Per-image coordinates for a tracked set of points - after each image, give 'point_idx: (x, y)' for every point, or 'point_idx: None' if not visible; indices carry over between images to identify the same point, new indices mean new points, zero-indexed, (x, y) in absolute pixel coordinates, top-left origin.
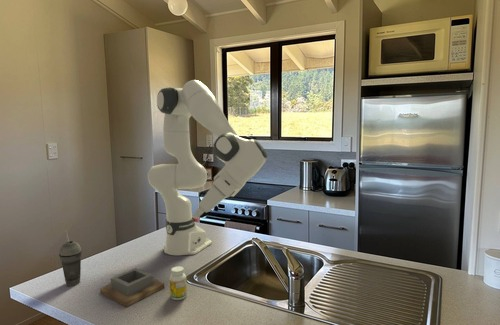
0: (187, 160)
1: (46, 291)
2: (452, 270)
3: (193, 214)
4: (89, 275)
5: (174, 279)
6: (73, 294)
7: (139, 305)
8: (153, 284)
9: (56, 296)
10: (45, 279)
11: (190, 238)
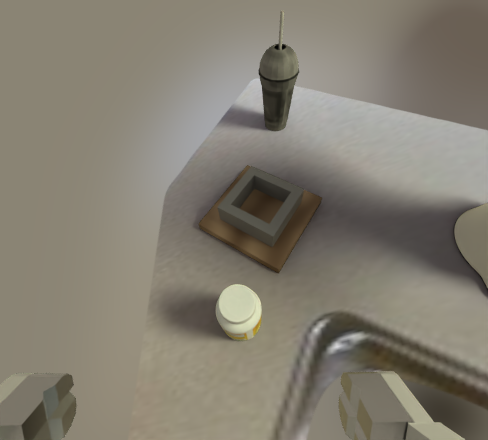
0: None
1: (248, 108)
2: None
3: (6, 381)
4: (306, 130)
5: (216, 304)
6: (241, 140)
7: (205, 248)
8: (272, 247)
9: (234, 124)
10: None
11: None
